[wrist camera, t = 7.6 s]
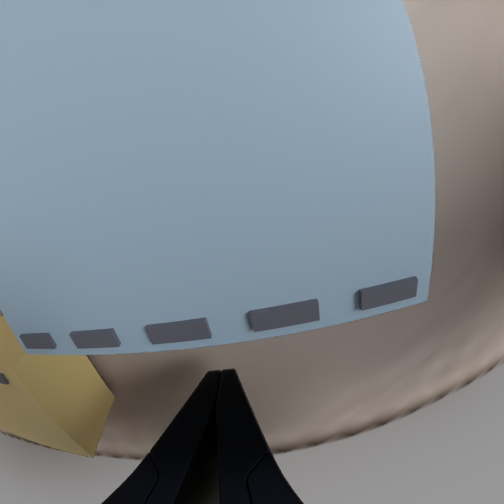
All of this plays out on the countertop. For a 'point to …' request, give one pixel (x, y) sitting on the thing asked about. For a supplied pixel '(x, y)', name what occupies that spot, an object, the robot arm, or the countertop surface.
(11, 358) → the stub
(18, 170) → the ticket
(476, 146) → the countertop surface
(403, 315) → the countertop surface
